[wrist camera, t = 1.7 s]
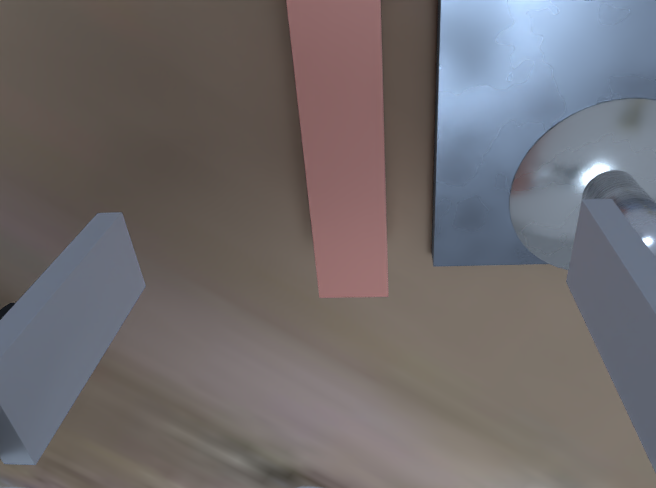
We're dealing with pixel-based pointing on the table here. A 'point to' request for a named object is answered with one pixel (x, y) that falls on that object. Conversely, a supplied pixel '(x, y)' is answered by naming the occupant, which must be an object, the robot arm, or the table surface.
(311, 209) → the link
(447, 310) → the table surface
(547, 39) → the plate
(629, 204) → the pintle
